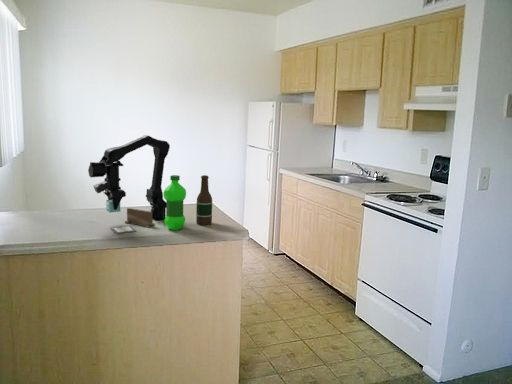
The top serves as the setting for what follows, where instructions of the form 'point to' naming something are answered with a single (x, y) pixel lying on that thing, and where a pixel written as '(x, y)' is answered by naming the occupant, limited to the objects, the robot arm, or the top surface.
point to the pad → (123, 229)
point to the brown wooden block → (139, 217)
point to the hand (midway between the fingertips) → (113, 208)
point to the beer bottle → (204, 204)
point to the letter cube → (111, 206)
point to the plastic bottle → (174, 204)
